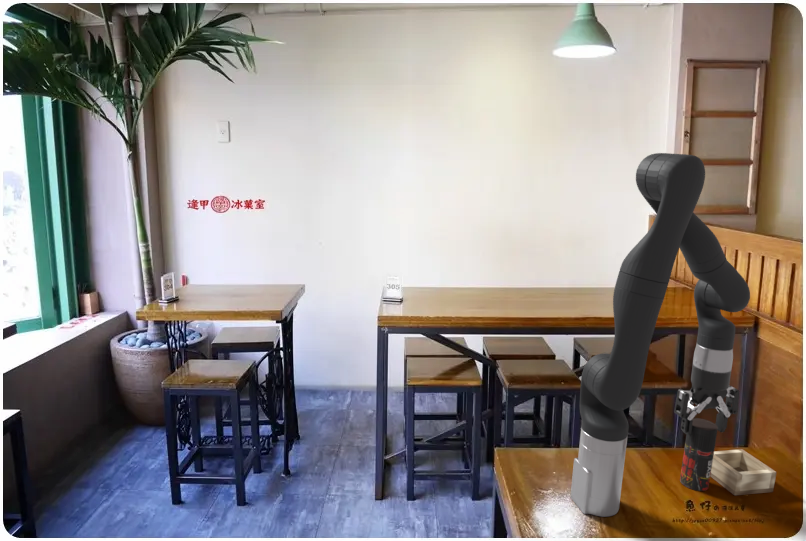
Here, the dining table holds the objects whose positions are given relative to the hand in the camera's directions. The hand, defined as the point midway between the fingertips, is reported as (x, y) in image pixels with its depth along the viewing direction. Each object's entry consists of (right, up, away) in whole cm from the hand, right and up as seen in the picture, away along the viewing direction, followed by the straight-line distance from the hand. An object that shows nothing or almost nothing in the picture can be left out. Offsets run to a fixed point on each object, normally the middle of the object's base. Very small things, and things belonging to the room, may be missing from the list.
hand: (703, 431), depth 125 cm
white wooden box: (+10, -13, +4) cm, 17 cm away
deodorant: (-1, -13, +3) cm, 13 cm away
